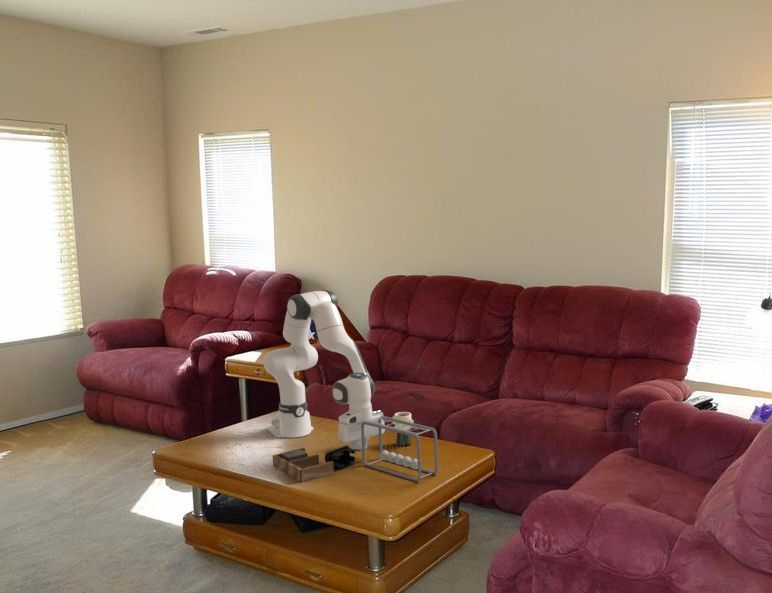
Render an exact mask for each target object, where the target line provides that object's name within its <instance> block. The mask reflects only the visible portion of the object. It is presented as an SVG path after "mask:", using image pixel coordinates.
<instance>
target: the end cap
mask: <svg viewBox="0 0 772 593" xmlns="http://www.w3.org/2000/svg"><path fill="white" fill-rule="evenodd" d="M351 454H354V455H355V454H356V450H353V449H351V448H350V447H349V445H343V446H340V447H337V448H336V449H335V448H334V449H332V450H329V451H327V452H326V453H325V454H324V463H327V462H331V461H332V462H333V468H334V470H335V471H339V472H340V471H341V470H344V469H347V468H350V467H352V466H355V461H356V456H354V455H351Z"/></svg>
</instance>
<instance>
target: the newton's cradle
mask: <svg viewBox="0 0 772 593" xmlns="http://www.w3.org/2000/svg"><path fill="white" fill-rule="evenodd" d="M375 420H378V423H374V422H372V421H375ZM375 420H371V421H368V422H366V421H364V422H363V423H362V424H361V436H362V450H361V456H362V457H361V459H362V463H363V465H364V466H365V467H367V468H371V469H374V470H378V471H380V472H383V473H387V474H390V475H394V476H396V477H400V478H403V479H406V480H410V481H412V482H416V483H417V482H420V480H421V479H423V478H425V477H427V476H431V475H436V474H438V471H439V460H438V458H439V456H438V455H439V453H438V432H437V430H436V429H435V428H434V427H431V426H426V425H421V424H419V423H410V422H406V421H402V420H398V419H394V418H393V417H389V416H385V415H383V416H380V417H379V418H378V419H375ZM381 420H384V422H383V423H384V424H385V423H386V422H387V425H382V424H381ZM389 422H390V423H393V422H394V423H398V424H402V427H403V425H406V426H409V427H413V428H414V429H415V430H416V432H414V431H411V429H409V431H406V430H402V429H398V428H395V426H390V425H389ZM365 424H366V425H370V426H374V427H378V428H379V435H378V449H379V451H378V452H379V458H380V459H377V460H376V461H373V462H370V463H368V462H367V461H366V449H365V439H364V425H365ZM399 426H400V425H399ZM396 427H397V426H396ZM381 428H382V429H385V431H386V436H385V439H387V438H388V441H390V439H389V437H388V435H389V433H388V432H390V431H391V432H393V435H396V434H397V433H401V437H402V434H405V435H409V437H410V438H411V437H413V438H415V439H416V441H415V443H416V444H415V447H416V453H415V455H414V454H412V457H413V459H412V458H411V457H410V456H408V454H409V453H408V452H409V451H408V450H409V449H407V452H406V449H405V447H403V450H404V452H406V453H404V456H403V455H402V454H401V452H399V450H398V448H396V449H397V452H398V453H397V454H396V453H395V452H393V450H394V447H392V449H391V448H389V450H387V449H386V448H387V447H386V445H387V443H385V446H384V447H383V445H384V442H383V436H382V435H383V434H382V431H381ZM406 428H407V427H406ZM403 429H404V428H403ZM418 429H419V430H423V431H422V432H418V431H419V430H418ZM429 431H432V433H433V448H434V470H431V469H430V470H429V469H426V468H424V467H422V465H421V464H422V463H421V462H422V461H421V439H420V437H419V435H420V434H424V433H426V432H429ZM396 439H397V437H393V439H392V442H393V443H394V440H395V441H396ZM402 439H403V437H402ZM411 440H412V439H411ZM411 440H410V442H411V443H412V441H411ZM388 444H389V446H391V444H390V442H388ZM395 444H396V447H398V444H397V443H396V442H395ZM407 445H409V439H408V444H407ZM410 445H411V446H410V447H411V448H413V447H412V444H410ZM401 446H405V445H404V443H403V445H401V443H400V445H399V448H402V447H401ZM411 450H412V451H411V452H412V453H413V452H414V451H413V449H411ZM389 451H390V452H389ZM416 457H417V458H416ZM380 461H386V462H389V463H394V464H396V465H400V466H403V467H405V468H411V469H412V470H417V478H416V477H413V476H410V475H407V474H403V473H401V472H396V471H393V470H390V469H387V468H383V467H380V466H377V465H374V464H375V463H377V462H380ZM422 472H424V473H426V475H423V476H422Z"/></svg>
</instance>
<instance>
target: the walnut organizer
mask: <svg viewBox="0 0 772 593" xmlns="http://www.w3.org/2000/svg"><path fill="white" fill-rule="evenodd" d="M299 449H300V450H302V451H304V452H306V448H305V447H301V448H296V449H293V450H289V451H285V452H280V453H276V454H272V466H273V467H274V468H275V469H277V470H278V471H281V472H283V473H284V474H286V475H288V476H289V477H291V478H293V479H295V480H296V481H298V482H301V483H305V482H308V481H312V480H315V479H320V478H323V477H327V476H330V475H333V474H334V472H335V471H334V468H333V462H332V461H331V462H327V463H326V462H323V463H320V458H319V456H320V455H319V454H318V453H316V454H313V455H309V456H308V457H304V458H300V459H296V460H293V461H287V460H285V459H283V458H282V454H283V453H287V452H291V451H295V450H299Z"/></svg>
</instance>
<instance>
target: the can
mask: <svg viewBox="0 0 772 593" xmlns="http://www.w3.org/2000/svg"><path fill="white" fill-rule="evenodd" d="M361 444H362V441H361ZM348 448H350V449H353V450H355V451H360V450H359V445H358V444H357V442H356V440H355V441H351V442H348Z"/></svg>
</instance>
